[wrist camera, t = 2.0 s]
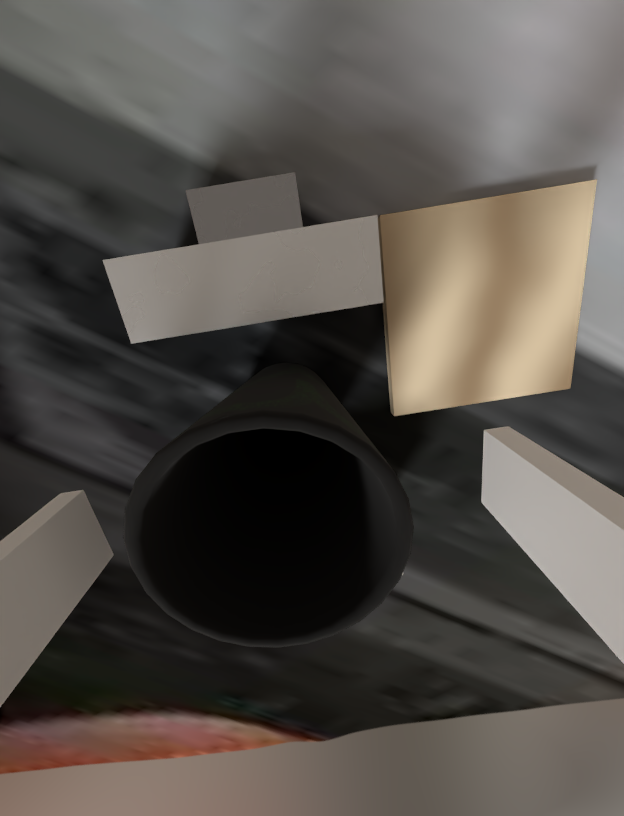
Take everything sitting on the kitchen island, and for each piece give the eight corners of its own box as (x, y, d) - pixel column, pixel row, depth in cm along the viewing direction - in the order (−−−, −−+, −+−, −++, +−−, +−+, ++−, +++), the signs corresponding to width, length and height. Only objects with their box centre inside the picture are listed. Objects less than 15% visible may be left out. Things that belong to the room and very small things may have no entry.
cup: (201, 382, 19) (53, 505, 7) (311, 320, 18) (333, 352, 7) (266, 478, 21) (230, 681, 10) (367, 427, 20) (454, 587, 9)
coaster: (390, 411, 20) (394, 416, 19) (376, 219, 16) (380, 215, 16) (559, 385, 20) (570, 388, 19) (582, 185, 16) (597, 179, 15)
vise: (261, 602, 25) (250, 690, 19) (151, 211, 16) (68, 160, 10) (384, 583, 25) (410, 667, 19) (343, 179, 16) (369, 109, 10)
